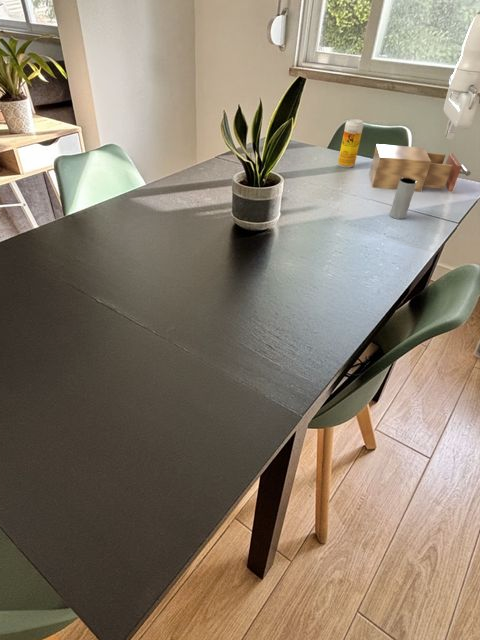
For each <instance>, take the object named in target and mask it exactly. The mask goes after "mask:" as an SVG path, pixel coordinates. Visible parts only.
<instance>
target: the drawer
mask: <svg viewBox="0 0 480 640" xmlns="http://www.w3.org/2000/svg"><path fill="white" fill-rule="evenodd" d="M427 154H428V156H429V158H430V160H431V164H430V167H429V170H428V173H427V176H426V179H425V182H424V185H423V188H431V189H442V190H444V189H445V187H446V189H447V191H448V192H453V190H454V188H455V185H456V183H457V180H458V177H459V175H460V174H461V175H465V177H469V176H470V175H471V174H472V173H471V171H470V169H469V168H468V166H467V165H466V164H465V163H463V164H461V163H460V162H459V159H457V157H456V155H455V154H454V153H451V152H449V153H448V156H446V153H437V152H427ZM446 157H447V158H446ZM445 158H446V160H445ZM444 161H446V162H445V163H444Z"/></svg>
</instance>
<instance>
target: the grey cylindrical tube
mask: <svg viewBox="0 0 480 640" xmlns="http://www.w3.org/2000/svg"><path fill="white" fill-rule="evenodd" d="M416 183H417V181H416V180H414V179H411V178H401V179H400V181H399V184H398V187H397V190H396V191H395V195H394V198H393V201H392V204H391V208H390V211H389V217H391V218H392V219H396V220H404V219H405V218H406V217H407V214H408V211H409V208H410V205H411V202H412V199H413V195H414V193H415V191H414V190H415V187H416Z"/></svg>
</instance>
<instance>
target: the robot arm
mask: <svg viewBox="0 0 480 640" xmlns="http://www.w3.org/2000/svg"><path fill="white" fill-rule="evenodd" d="M460 55H461V56H460V58H459V59H458V60H459V61H457V64H456V66H455V68H454V71H453V74H451V75H450V77H449V80H448V85H449V87H448V90H447V92H446V97H445V101H444V104H443V113H444V115H445V116H446V118H447V119H448V121H447V125H446V131H445V133H444V137H446V139H447V140H453V139H454V138H455V135H456V133H457V131H458V130H459V129H460V130H461V129H462V130H468V129H470V127H471V126H472V125H473V121H474V118H475V115H476V112H477V109H478V106H479V103H480V96H479V95H478V94H479V93H480V10H479V11H478V12H477V13H476V15H475V16H474V18H473V19H472V22H471V24H470V25H469V28H468V31H467V34H466V36H465V39H464V41H463V44H462V48H461V54H460Z"/></svg>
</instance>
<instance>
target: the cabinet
mask: <svg viewBox="0 0 480 640" xmlns="http://www.w3.org/2000/svg"><path fill="white" fill-rule="evenodd" d="M427 153H428V152H427V150H426V149H425V147H418V146H405V145H393V144H379V143H376V145H375V149H374V153H373V157H372V160H371V164H370V169H369V178H370V183H371V188H375V189H386V190H396V191H397V187H398V184H399V181H400V179H401V178H411V179H414V180H416V181H417V183H416V187H415V190H414V192H420V193H422V190H423V188H424V187H423V185H424V182H425V179H426V176H427V173H428V170H429V167H430V164H431V160H430V158H429V156H428V154H427Z"/></svg>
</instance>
